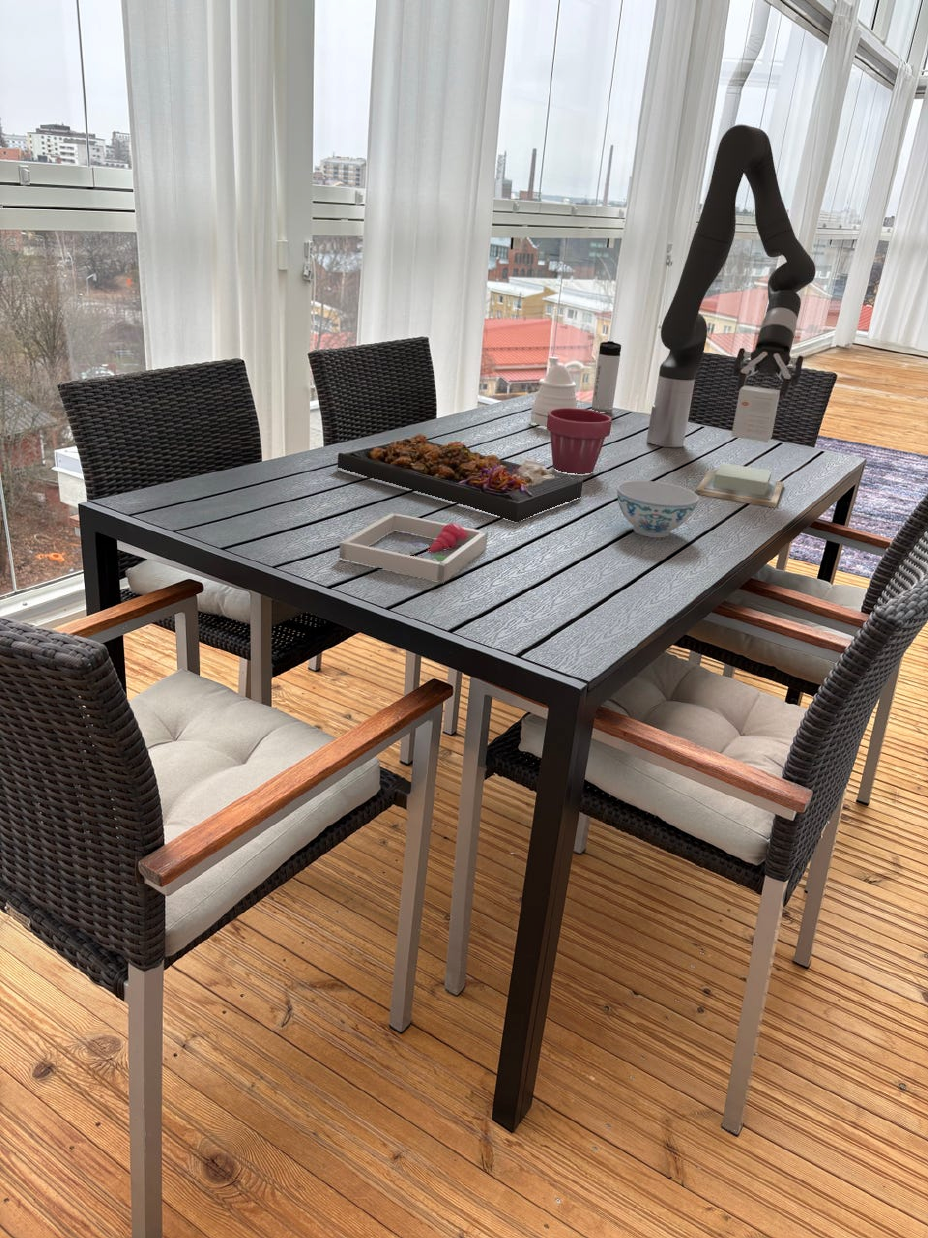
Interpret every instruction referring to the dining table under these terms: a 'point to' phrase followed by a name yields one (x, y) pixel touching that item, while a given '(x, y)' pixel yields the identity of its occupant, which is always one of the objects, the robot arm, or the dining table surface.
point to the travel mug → (606, 376)
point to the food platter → (464, 476)
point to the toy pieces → (445, 540)
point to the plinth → (742, 479)
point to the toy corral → (410, 565)
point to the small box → (755, 413)
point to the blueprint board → (764, 500)
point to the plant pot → (577, 438)
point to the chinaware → (655, 506)
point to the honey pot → (554, 393)
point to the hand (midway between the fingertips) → (760, 393)
